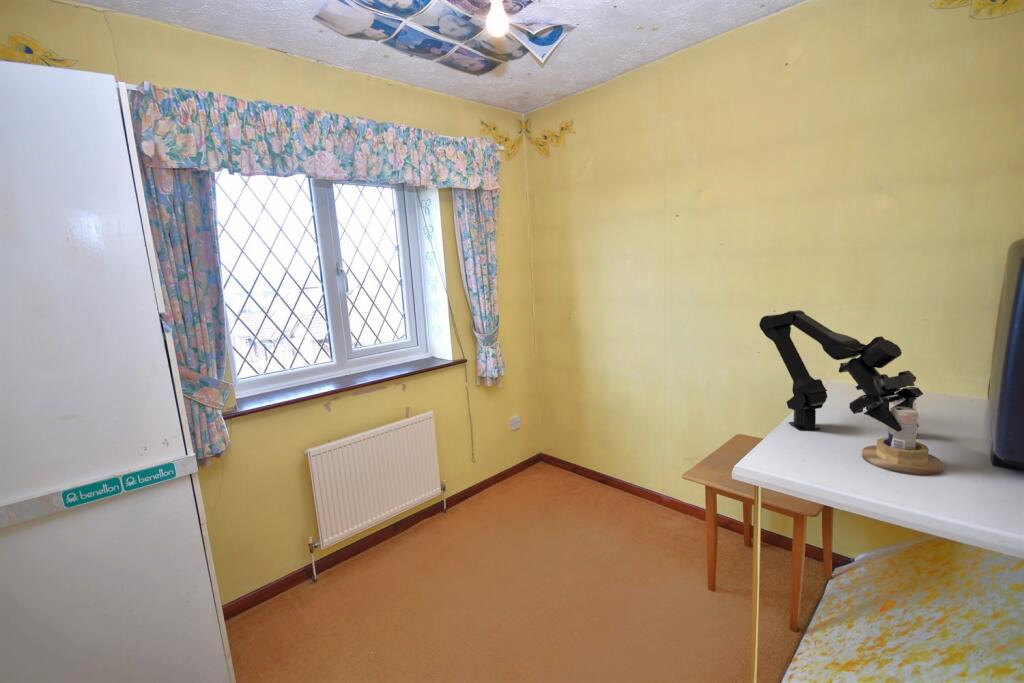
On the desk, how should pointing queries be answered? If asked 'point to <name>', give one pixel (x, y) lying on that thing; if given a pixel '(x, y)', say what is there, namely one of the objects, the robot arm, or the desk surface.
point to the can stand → (903, 459)
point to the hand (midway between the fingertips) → (908, 429)
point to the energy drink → (904, 428)
